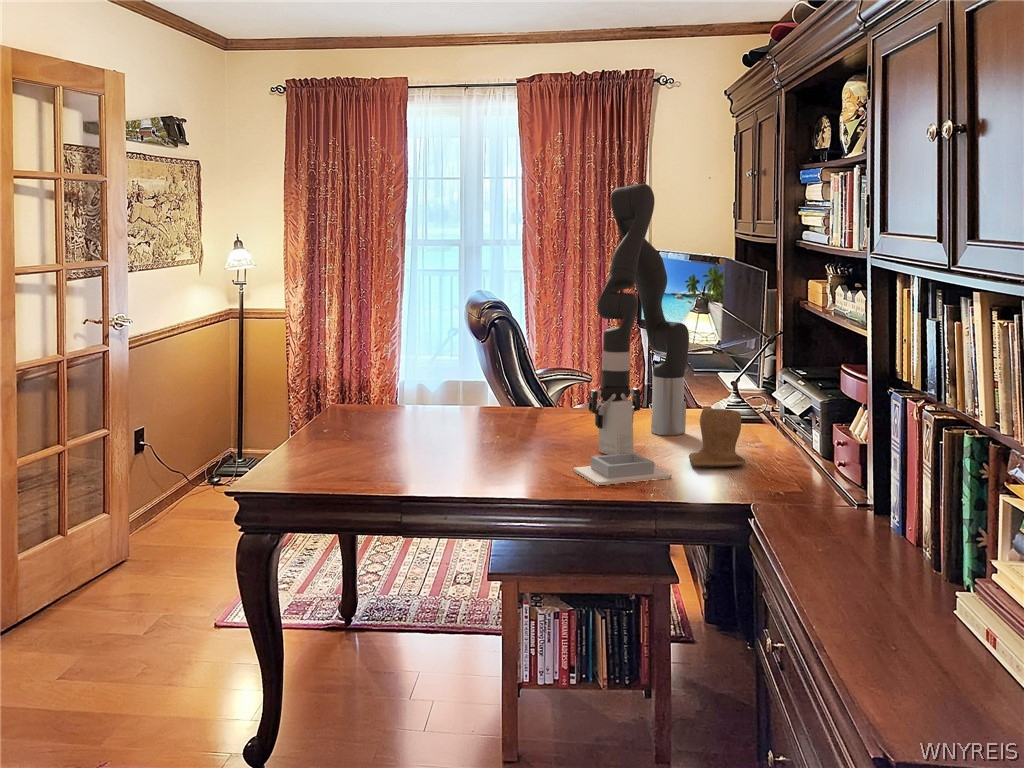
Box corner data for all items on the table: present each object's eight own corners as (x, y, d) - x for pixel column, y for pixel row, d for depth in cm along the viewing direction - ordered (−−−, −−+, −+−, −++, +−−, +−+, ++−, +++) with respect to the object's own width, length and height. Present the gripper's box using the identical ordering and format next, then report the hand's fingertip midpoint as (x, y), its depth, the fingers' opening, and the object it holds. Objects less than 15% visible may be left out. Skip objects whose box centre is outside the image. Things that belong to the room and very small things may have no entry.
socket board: (644, 464, 230) (644, 449, 230) (671, 478, 217) (672, 462, 217) (573, 471, 224) (573, 455, 223) (597, 486, 211) (597, 469, 210)
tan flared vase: (734, 458, 237) (736, 403, 235) (751, 470, 226) (753, 412, 223) (678, 460, 235) (680, 404, 233) (692, 471, 224) (695, 413, 221)
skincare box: (633, 455, 240) (635, 401, 237) (616, 458, 237) (617, 403, 234) (613, 449, 247) (614, 396, 244) (596, 452, 244) (597, 398, 241)
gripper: (633, 365, 244) (631, 423, 246) (585, 366, 239) (584, 426, 242) (646, 368, 237) (644, 428, 239) (597, 370, 232) (595, 431, 235)
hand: (614, 427), depth 241 cm, fingers open, 8 cm apart
